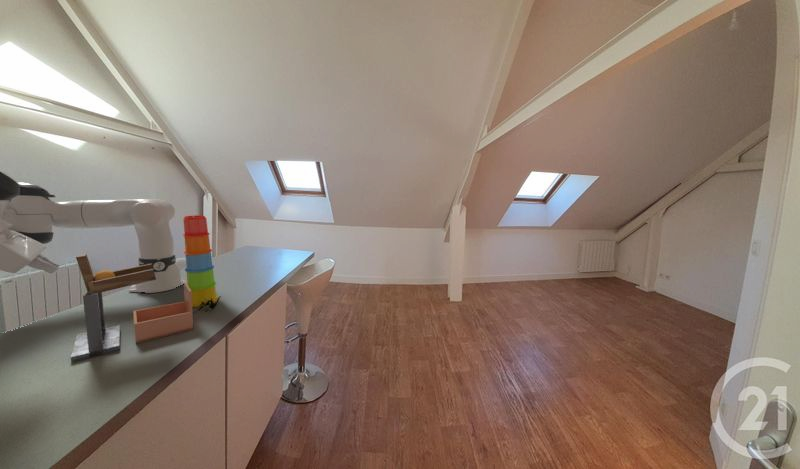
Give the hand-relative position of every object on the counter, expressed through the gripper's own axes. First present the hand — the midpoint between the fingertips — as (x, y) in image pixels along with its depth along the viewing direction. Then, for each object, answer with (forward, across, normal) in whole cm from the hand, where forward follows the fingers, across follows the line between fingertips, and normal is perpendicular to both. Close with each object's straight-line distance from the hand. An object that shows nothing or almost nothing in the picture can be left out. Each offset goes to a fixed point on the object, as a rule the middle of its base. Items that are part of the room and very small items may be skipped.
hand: (56, 270), depth 68 cm
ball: (+8, 0, +3) cm, 9 cm away
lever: (+13, 0, +4) cm, 13 cm away
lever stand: (+20, 0, -12) cm, 23 cm away
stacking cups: (+39, -18, +7) cm, 44 cm away
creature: (+39, -9, +7) cm, 41 cm away
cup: (+30, 0, -2) cm, 30 cm away
